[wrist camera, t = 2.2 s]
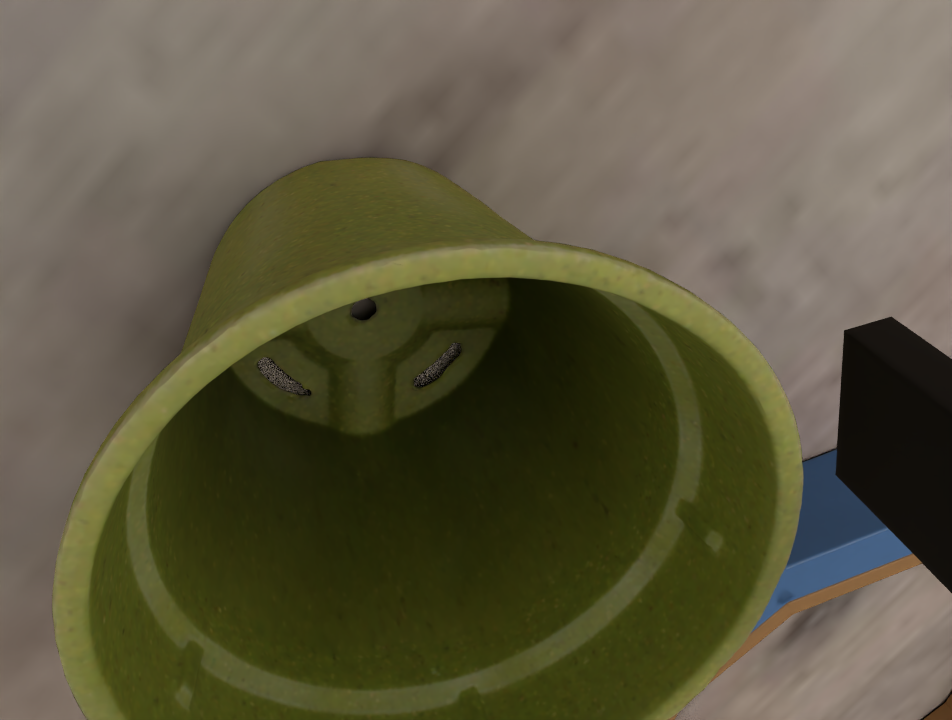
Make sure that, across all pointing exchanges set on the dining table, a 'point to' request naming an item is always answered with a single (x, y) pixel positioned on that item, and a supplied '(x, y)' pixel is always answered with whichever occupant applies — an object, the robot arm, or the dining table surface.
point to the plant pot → (427, 479)
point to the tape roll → (831, 555)
